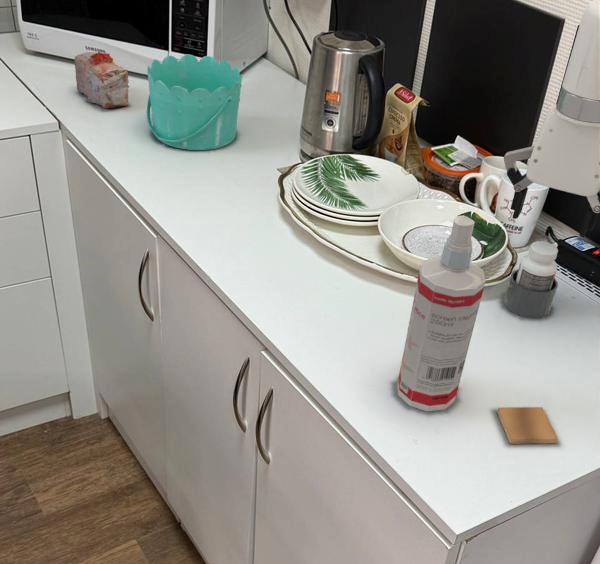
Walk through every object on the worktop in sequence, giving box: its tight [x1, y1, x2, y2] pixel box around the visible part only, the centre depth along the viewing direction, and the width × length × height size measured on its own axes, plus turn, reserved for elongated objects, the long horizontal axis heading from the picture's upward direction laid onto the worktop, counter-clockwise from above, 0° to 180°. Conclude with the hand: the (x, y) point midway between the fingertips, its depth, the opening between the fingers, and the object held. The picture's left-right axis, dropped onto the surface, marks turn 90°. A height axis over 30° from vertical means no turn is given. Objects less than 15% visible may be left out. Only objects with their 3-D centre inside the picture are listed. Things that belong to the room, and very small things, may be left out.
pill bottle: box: [515, 240, 559, 292], centre depth 121 cm, size 5×5×10 cm
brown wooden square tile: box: [496, 406, 558, 445], centre depth 102 cm, size 6×6×1 cm
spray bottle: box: [397, 214, 487, 412], centre depth 98 cm, size 8×8×25 cm
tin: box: [503, 268, 559, 319], centre depth 123 cm, size 7×7×4 cm
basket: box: [146, 53, 243, 151], centre depth 161 cm, size 19×18×13 cm
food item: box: [74, 51, 130, 109], centre depth 173 cm, size 14×8×10 cm, turn 41°
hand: (549, 224), depth 115 cm, fingers open, 9 cm apart
